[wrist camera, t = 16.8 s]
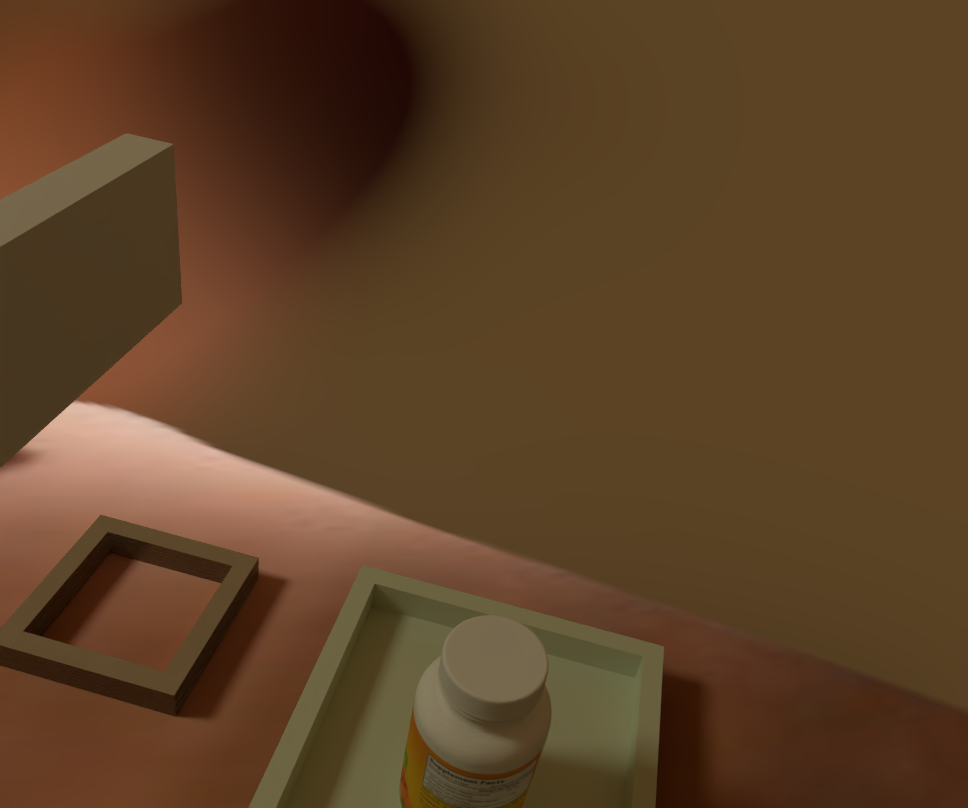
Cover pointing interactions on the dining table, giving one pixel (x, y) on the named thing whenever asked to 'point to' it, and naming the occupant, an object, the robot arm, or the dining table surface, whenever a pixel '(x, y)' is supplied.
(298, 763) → the tray
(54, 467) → the dining table surface
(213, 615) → the holder ring
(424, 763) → the supplement bottle
